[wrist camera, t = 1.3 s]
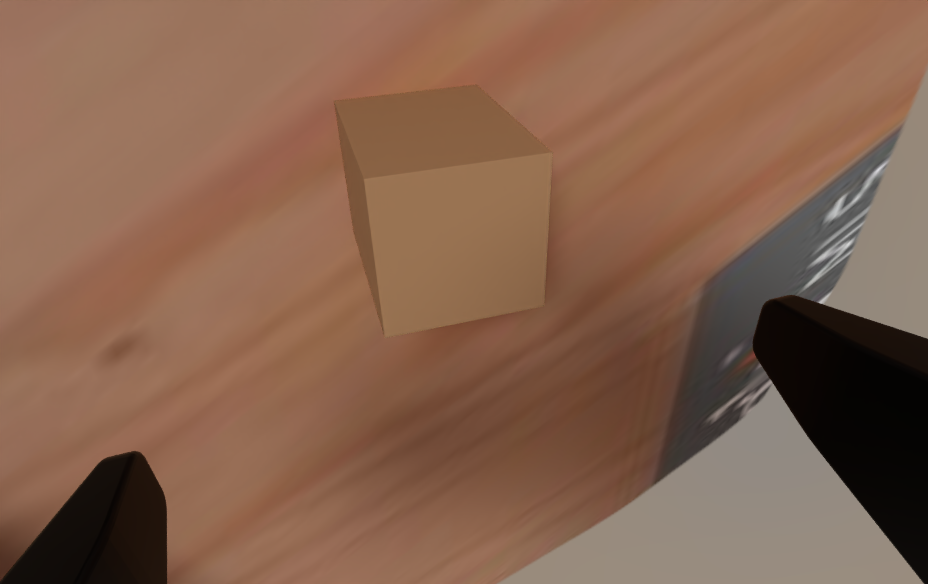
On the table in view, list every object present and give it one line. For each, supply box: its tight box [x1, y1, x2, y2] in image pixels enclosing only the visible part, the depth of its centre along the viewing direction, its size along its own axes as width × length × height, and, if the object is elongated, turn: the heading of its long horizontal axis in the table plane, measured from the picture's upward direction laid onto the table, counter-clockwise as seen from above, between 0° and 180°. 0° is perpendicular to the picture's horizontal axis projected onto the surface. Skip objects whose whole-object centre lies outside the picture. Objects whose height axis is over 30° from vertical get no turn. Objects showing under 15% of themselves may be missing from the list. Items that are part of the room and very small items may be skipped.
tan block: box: [334, 85, 553, 338], centre depth 17 cm, size 4×4×6 cm
